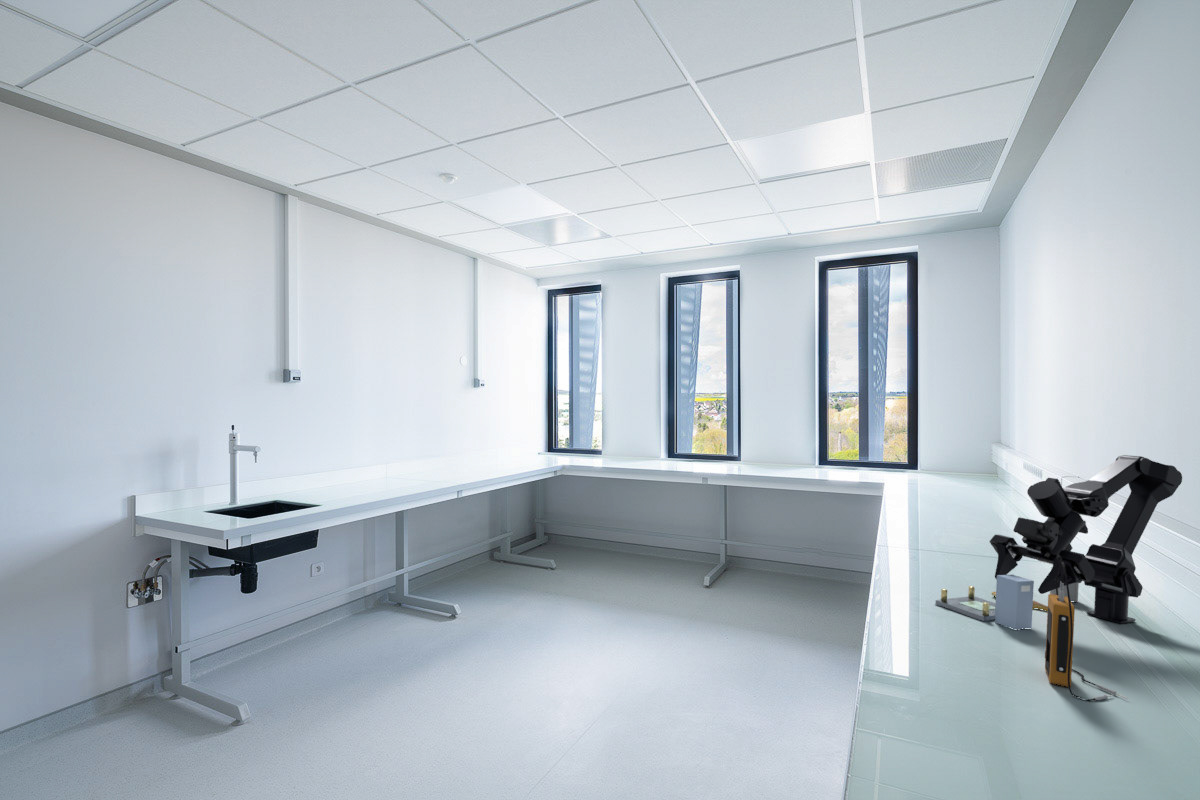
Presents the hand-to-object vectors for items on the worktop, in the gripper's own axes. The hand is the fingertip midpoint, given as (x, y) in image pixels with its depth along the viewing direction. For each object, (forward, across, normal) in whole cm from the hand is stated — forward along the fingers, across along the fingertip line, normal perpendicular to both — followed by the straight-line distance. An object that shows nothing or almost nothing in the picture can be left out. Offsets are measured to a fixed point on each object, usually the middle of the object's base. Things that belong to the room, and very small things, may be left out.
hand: (1017, 585), depth 123 cm
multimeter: (+18, +24, -5) cm, 30 cm away
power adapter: (-18, -12, +30) cm, 37 cm away
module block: (+6, 0, +6) cm, 8 cm away
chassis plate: (+5, -9, +7) cm, 13 cm away
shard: (-7, -12, +19) cm, 24 cm away
